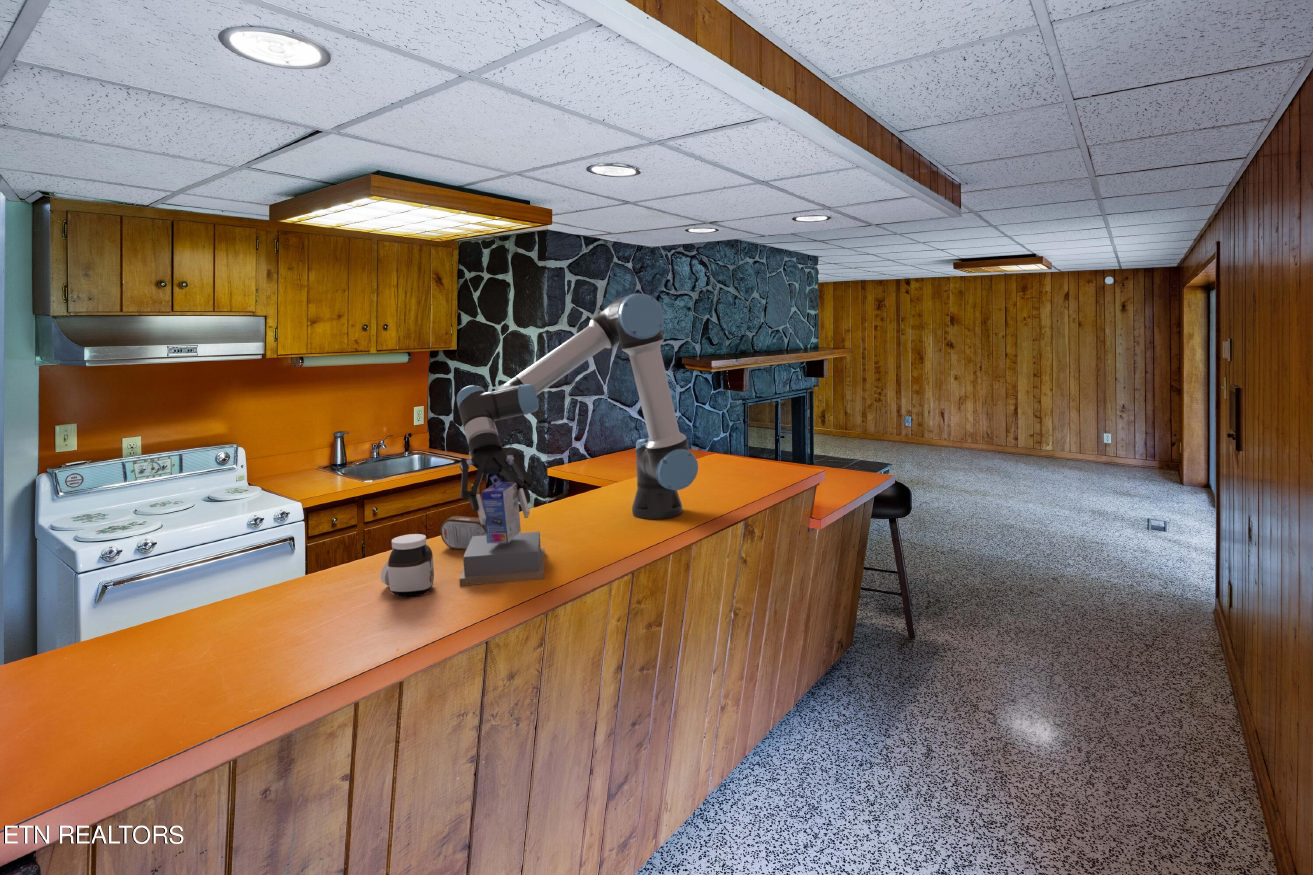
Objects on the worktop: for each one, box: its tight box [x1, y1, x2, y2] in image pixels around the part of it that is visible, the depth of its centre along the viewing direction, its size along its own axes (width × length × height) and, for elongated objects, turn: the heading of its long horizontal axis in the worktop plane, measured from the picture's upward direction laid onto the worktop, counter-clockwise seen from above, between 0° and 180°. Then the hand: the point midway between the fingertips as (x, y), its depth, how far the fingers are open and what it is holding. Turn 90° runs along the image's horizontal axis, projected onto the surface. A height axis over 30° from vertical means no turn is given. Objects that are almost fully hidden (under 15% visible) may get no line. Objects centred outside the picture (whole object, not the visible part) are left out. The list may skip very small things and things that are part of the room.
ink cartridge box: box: [481, 474, 522, 543], centre depth 151 cm, size 10×6×14 cm, turn 175°
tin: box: [439, 515, 486, 551], centre depth 168 cm, size 15×3×8 cm, turn 70°
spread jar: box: [380, 533, 435, 598], centre depth 140 cm, size 12×11×12 cm
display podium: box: [459, 531, 546, 586], centre depth 152 cm, size 18×18×6 cm
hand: (505, 518), depth 148 cm, fingers closed on ink cartridge box, 9 cm apart
